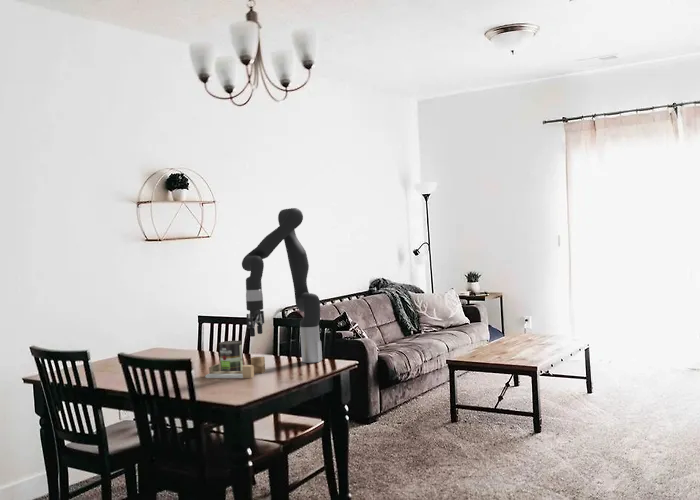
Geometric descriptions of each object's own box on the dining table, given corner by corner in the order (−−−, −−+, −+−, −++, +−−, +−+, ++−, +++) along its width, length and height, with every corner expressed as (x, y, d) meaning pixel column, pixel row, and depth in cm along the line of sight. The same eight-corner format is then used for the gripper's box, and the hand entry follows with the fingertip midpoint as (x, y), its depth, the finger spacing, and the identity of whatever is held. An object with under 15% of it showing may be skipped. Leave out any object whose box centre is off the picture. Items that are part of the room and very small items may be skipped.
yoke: (270, 369, 310) (269, 354, 310) (257, 376, 295) (256, 360, 295) (224, 369, 316) (223, 354, 316) (209, 376, 301) (208, 360, 301)
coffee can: (234, 375, 300) (232, 344, 299) (216, 374, 304) (214, 343, 304) (248, 371, 309) (246, 340, 309) (230, 370, 314) (228, 340, 313)
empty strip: (254, 376, 295) (253, 365, 295) (251, 378, 292) (250, 366, 292) (209, 376, 301) (208, 365, 301) (205, 377, 297) (205, 366, 297)
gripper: (255, 300, 295) (257, 337, 295) (268, 297, 309) (270, 332, 309) (240, 301, 297) (242, 337, 297) (253, 298, 311) (255, 332, 311)
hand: (256, 335), depth 303 cm, fingers open, 8 cm apart
